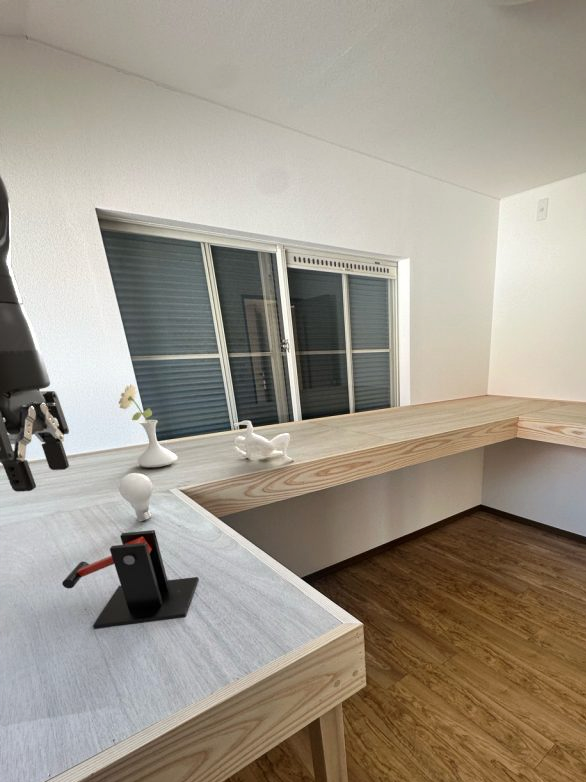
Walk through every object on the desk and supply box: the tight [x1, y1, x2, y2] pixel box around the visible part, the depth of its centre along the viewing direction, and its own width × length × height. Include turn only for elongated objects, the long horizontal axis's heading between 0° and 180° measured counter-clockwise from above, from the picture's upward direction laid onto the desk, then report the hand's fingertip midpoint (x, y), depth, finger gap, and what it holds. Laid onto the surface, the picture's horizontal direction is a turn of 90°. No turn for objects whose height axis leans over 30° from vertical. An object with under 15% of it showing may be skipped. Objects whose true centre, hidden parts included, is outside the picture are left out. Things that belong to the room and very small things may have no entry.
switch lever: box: [62, 536, 152, 589], centre depth 60 cm, size 11×5×2 cm, turn 101°
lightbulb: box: [118, 472, 154, 522], centre depth 91 cm, size 6×6×11 cm
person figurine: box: [233, 419, 292, 461], centre depth 134 cm, size 13×13×18 cm
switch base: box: [92, 529, 199, 630], centre depth 61 cm, size 12×10×12 cm
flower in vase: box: [118, 383, 178, 468], centre depth 126 cm, size 13×11×25 cm
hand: (43, 479), depth 55 cm, fingers open, 8 cm apart
